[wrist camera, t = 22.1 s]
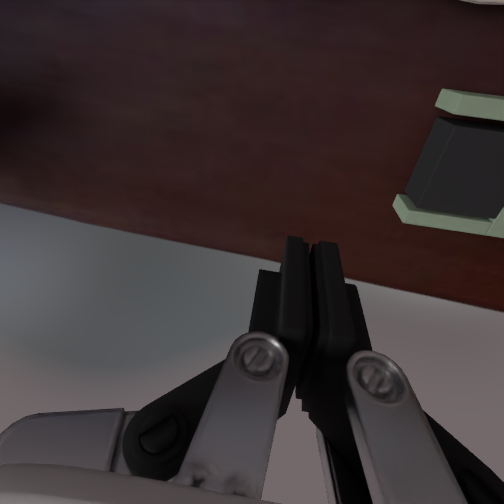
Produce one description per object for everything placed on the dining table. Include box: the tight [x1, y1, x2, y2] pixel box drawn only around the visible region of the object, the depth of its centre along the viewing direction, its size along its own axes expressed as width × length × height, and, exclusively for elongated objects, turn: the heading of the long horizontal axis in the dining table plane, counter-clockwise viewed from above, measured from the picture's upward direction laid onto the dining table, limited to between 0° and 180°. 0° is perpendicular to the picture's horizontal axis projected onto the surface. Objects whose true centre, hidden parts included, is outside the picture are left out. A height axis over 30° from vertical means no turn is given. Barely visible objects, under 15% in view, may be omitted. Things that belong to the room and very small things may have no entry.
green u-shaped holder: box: [393, 89, 504, 238], centre depth 24 cm, size 12×10×4 cm
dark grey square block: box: [405, 117, 504, 219], centre depth 24 cm, size 6×6×4 cm
